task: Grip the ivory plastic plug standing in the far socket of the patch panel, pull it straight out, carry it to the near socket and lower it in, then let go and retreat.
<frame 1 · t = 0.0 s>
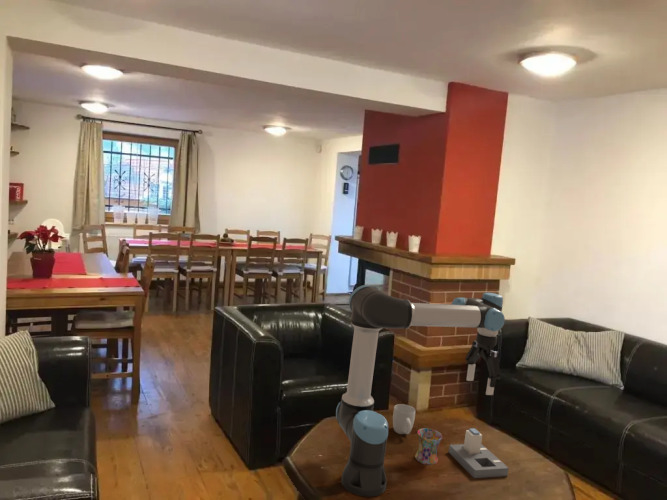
hand: (479, 387, 198), 28 cm above the table, fingers open, 13 cm apart
panel: (476, 466, 194), on the table
mug 2: (403, 433, 214), on the table
plug: (470, 457, 198), point 1 cm above the table, touching panel
mug: (425, 459, 195), on the table
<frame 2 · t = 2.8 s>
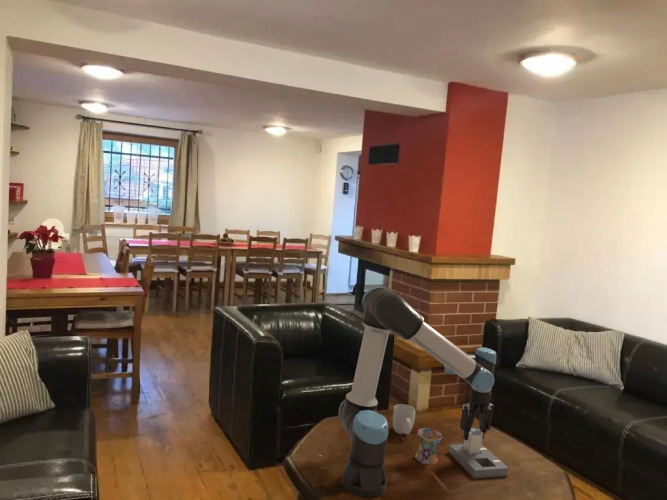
hand: (472, 447, 198), 5 cm above the table, fingers closed on plug, 4 cm apart
plug: (470, 457, 198), point 1 cm above the table, touching gripper, panel
everything else where it was.
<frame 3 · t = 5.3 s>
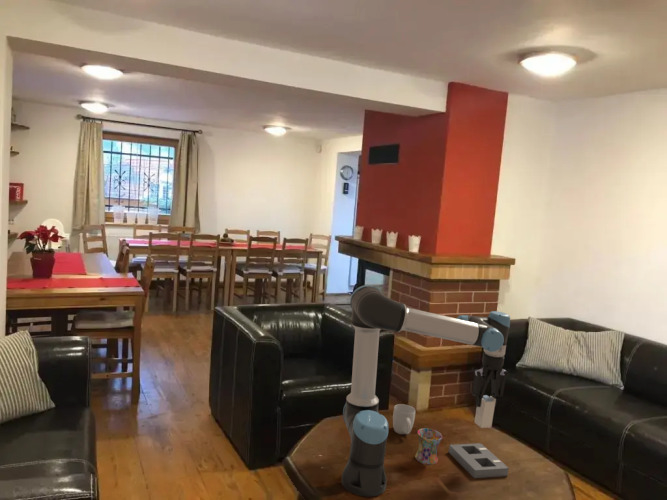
hand: (484, 414, 192), 21 cm above the table, fingers closed on plug, 4 cm apart
plug: (482, 424, 192), point 16 cm above the table, touching gripper
everything else where it was.
when the fingers open (7 cm above the table, at t = 8.1 s): plug drops 1 cm, resting on panel.
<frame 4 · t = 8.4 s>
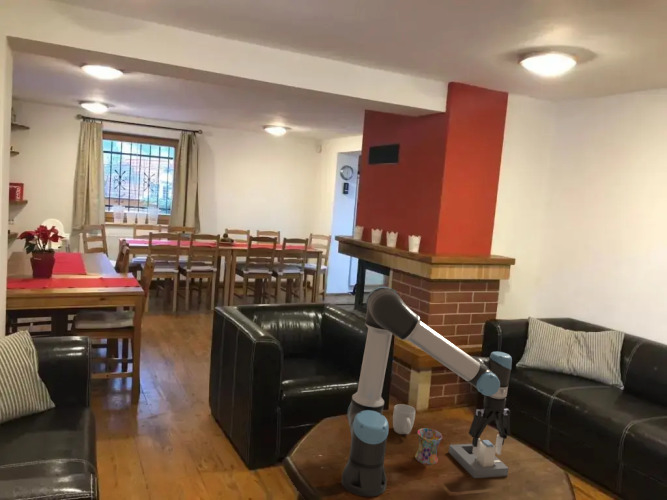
hand: (486, 453, 189), 7 cm above the table, fingers open, 9 cm apart
plug: (483, 470, 190), point 1 cm above the table, touching panel
everything else where it was.
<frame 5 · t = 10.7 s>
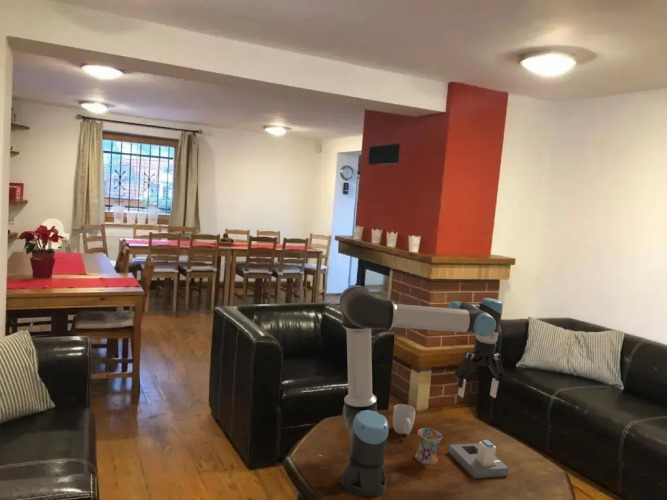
hand: (476, 396, 191), 27 cm above the table, fingers open, 13 cm apart
nothing on the table moved.
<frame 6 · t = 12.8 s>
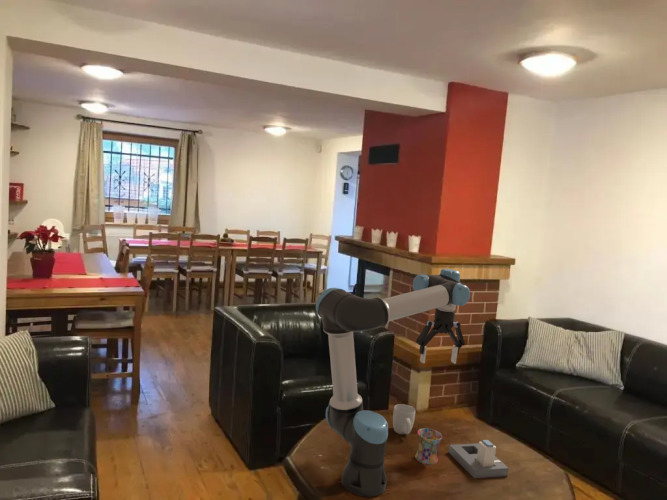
hand: (437, 362, 201), 35 cm above the table, fingers open, 13 cm apart
nothing on the table moved.
at the end: plug 0.0 cm from the target spot on the panel, point 1.0 cm above the panel's base; plug tilted 0°; the gripper is holding nothing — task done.
